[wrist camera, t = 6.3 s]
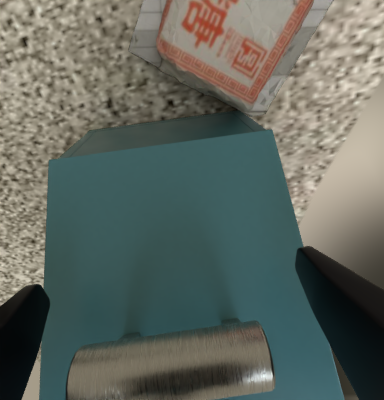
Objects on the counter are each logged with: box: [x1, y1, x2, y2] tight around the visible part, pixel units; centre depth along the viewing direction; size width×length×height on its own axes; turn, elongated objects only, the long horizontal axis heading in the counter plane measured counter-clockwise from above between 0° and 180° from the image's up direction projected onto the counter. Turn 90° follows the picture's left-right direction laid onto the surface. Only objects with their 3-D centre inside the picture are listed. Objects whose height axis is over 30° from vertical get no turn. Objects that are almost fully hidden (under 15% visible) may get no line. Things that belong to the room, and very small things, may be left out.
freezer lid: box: [39, 129, 344, 400], centre depth 9 cm, size 13×11×5 cm
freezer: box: [58, 110, 266, 159], centre depth 19 cm, size 12×11×6 cm
